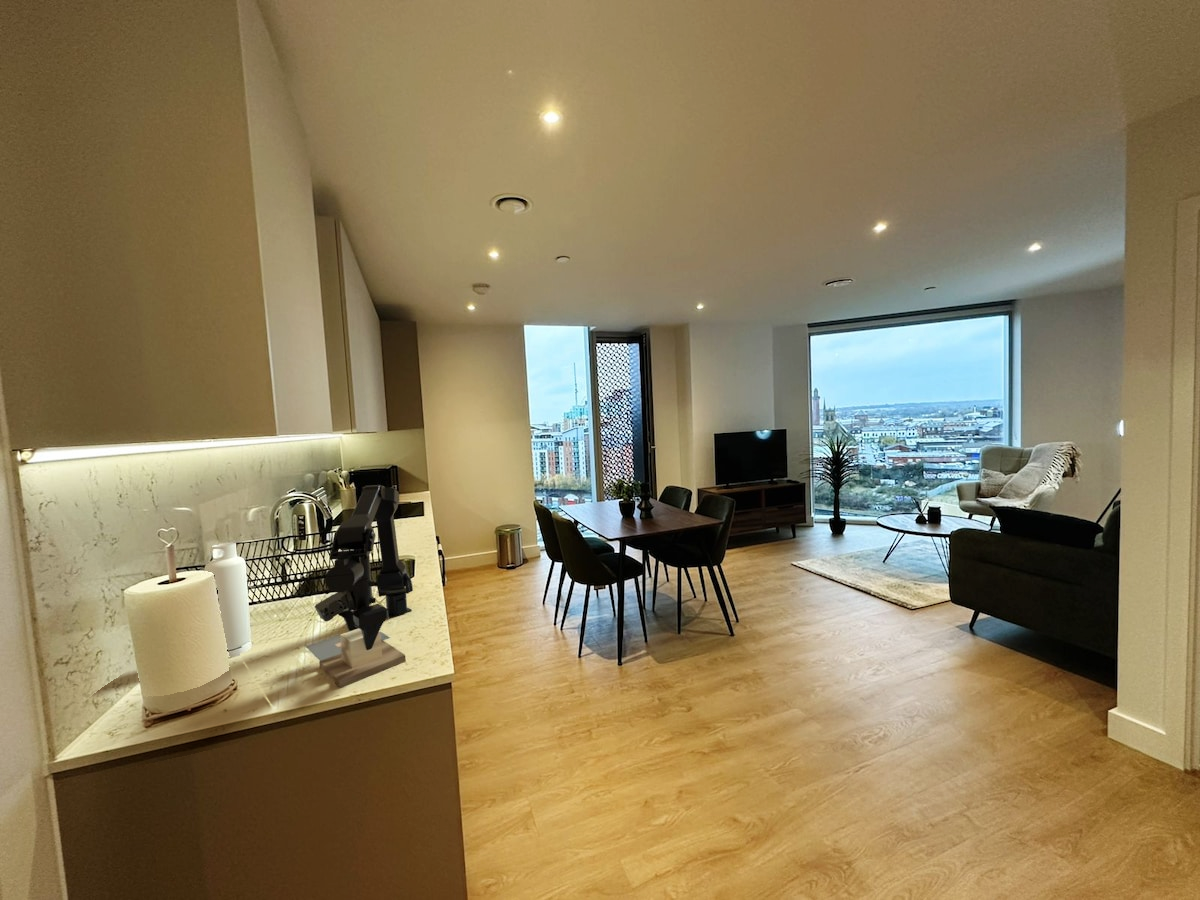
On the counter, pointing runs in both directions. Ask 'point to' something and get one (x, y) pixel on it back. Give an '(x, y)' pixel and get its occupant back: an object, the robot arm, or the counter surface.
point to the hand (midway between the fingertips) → (361, 643)
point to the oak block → (359, 648)
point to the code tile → (330, 647)
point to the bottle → (232, 596)
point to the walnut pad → (348, 675)
